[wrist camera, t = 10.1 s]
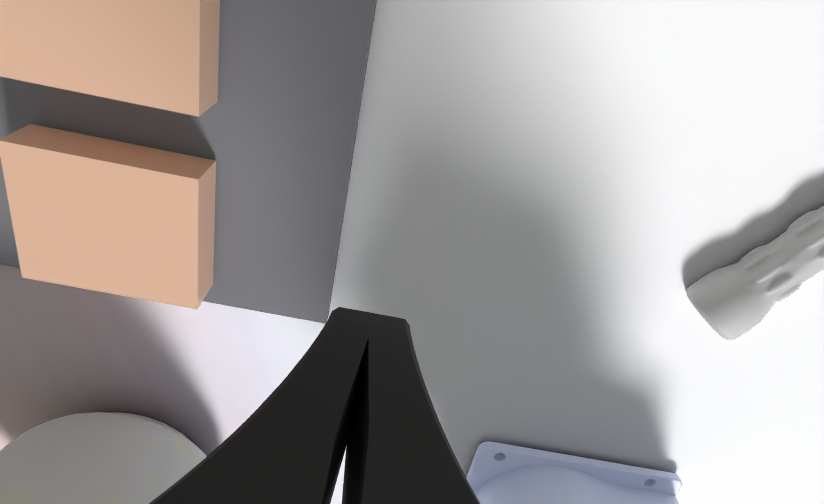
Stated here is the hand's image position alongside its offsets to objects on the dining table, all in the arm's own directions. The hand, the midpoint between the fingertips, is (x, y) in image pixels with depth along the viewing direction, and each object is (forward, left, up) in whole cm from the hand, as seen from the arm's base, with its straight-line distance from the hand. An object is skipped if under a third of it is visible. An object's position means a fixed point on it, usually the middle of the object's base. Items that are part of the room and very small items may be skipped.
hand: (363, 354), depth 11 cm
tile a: (+6, +4, -8) cm, 11 cm away
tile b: (+6, -4, -8) cm, 11 cm away
